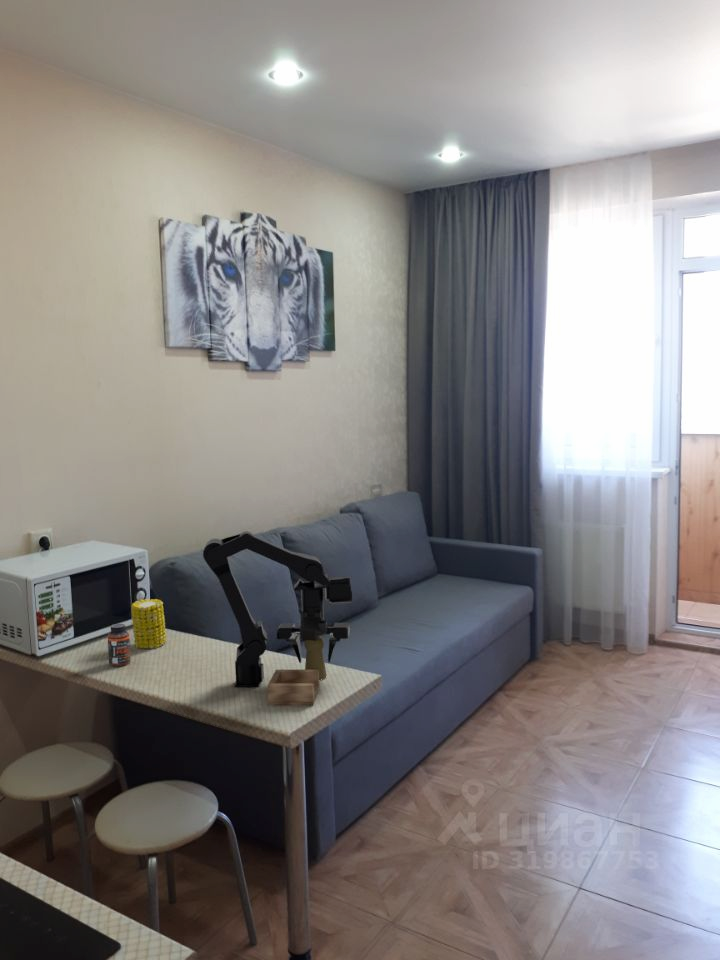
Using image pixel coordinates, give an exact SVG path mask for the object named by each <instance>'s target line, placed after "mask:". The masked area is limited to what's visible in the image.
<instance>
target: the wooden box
mask: <svg viewBox="0 0 720 960" xmlns="http://www.w3.org/2000/svg"><path fill="white" fill-rule="evenodd" d="M320 686H321V685H320V681H319V669H311V670H305V669H275V671H274V673H273V674H272V675H271V678H270V680H269V682H268V684H267V706H268V707H269V706H270V707H276V706H277V707H279V706H281V707H284V706H285V707H288V706H289V707H291V706H292V707H293V706H294V707H296V706H297V707H298V706H300V707H302V706H303V707H305V706H308V707H311V706H312V707H313V706H314V705H315V701H316V698H317V696H318V694H319V693H318V692H319V690H320ZM271 705H272V706H271Z"/></svg>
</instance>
